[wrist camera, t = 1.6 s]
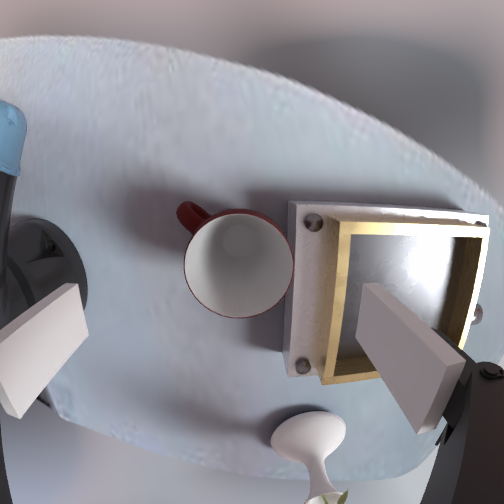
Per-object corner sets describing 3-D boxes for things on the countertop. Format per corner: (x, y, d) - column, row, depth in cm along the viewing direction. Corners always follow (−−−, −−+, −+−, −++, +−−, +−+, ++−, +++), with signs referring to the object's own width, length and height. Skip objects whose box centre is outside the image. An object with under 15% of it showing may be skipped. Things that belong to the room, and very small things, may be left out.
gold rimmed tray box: (282, 352, 34) (291, 394, 27) (288, 200, 30) (303, 208, 22) (459, 330, 35) (489, 356, 27) (481, 212, 31) (521, 222, 23)
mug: (168, 241, 31) (136, 269, 21) (205, 174, 29) (186, 172, 19) (253, 289, 32) (257, 335, 22) (293, 226, 31) (315, 249, 21)
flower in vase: (320, 453, 40) (351, 575, 16) (258, 445, 39) (268, 585, 14) (362, 402, 37) (425, 538, 13) (294, 389, 36) (333, 561, 12)
